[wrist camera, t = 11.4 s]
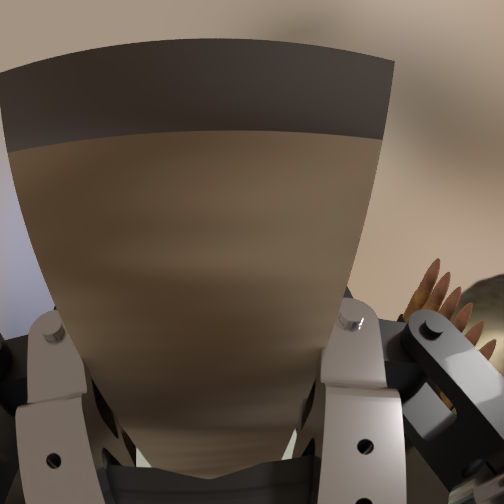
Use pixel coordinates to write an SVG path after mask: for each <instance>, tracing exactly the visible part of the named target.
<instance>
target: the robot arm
mask: <svg viewBox="0 0 504 504" xmlns="http://www.w3.org/2000/svg"><path fill="white" fill-rule="evenodd" d="M429 378H431V379H432V381H433V382H434V383H435V384H436V385H437V386H438V387H439V389H440V390H441V391H442V392H443V393H444V394H445V396H446V397H447V398H448V399H449V400H450V402H451V403H452V404H453V405H454V407H455V409H456V412H457V415H455V414H453V413H452V412H451V411H450V410H449V409H448V408H447V406H446V405H445V404H444V403H443V402H442V400H441V399H440V398H439V397H438V396H437V394H436V393H435V392H434V391H433V390H432V389H431V387H430V386H429V385H428V384H427V383H426V382H427V380H428V379H429ZM404 433H405V434H406V436H407V437H408V438H409V440H410V441H411V442H412V444H413V445H414V446H415V448H416V449H417V450H418V451H419V453H420V454H421V455H422V457H423V458H424V459H425V461H426V462H427V463H428V465H429V466H430V467H431V469H432V470H433V471H434V472H435V474H436V475H437V476H438V478H439V479H440V480H441V482H442V483H443V484H444V486H445V487H446V488H447V490H448V491H449V492H450V496H449V500H448V501H447V503H446V504H504V378H503V376H502V375H501V374H500V373H499V372H498V371H497V370H496V369H495V368H494V367H493V366H492V364H491V363H490V362H489V361H488V360H487V359H486V358H485V357H484V356H483V355H482V354H481V353H480V352H479V351H478V350H477V349H476V347H475V346H474V345H473V344H472V343H471V342H470V341H469V340H468V339H467V338H466V337H465V336H464V335H463V334H462V333H461V332H460V331H459V330H458V329H457V328H456V327H455V326H454V325H453V324H452V323H451V322H450V321H449V320H448V319H447V318H446V317H444V316H443V315H441V314H440V313H438V312H435V311H433V310H428V309H421V310H417V311H415V312H414V313H413V314H412V315H411V316H410V318H409V320H408V322H407V323H404V322H396V321H389V320H383V319H379V318H378V317H377V315H376V313H375V312H374V310H373V309H372V308H371V307H370V306H368V305H367V304H365V303H364V302H361V301H359V300H356V299H353V297H352V295H351V293H350V291H349V289H348V287H346V290H345V293H344V296H343V300H342V303H341V306H340V309H339V312H338V315H337V318H336V321H335V324H334V327H333V330H332V333H331V336H330V339H329V342H328V345H327V347H322V348H321V351H320V354H319V357H318V360H317V369H316V378H315V381H314V383H313V386H312V388H311V391H310V394H309V396H308V398H304V399H303V401H302V404H301V406H300V413H299V422H298V431H297V437H296V442H295V445H294V449H293V454H292V458H291V459H285V460H278V461H271V462H263V463H260V464H257V465H254V466H252V467H249V468H246V469H243V470H240V471H237V472H234V473H231V474H227V475H224V476H221V477H218V478H214V479H203V478H198V477H193V476H188V475H184V474H179V473H175V472H171V471H166V470H163V469H159V468H153V467H135V465H134V463H133V461H132V458H131V456H130V454H129V452H128V450H127V448H126V446H125V443H124V440H123V437H122V433H121V430H120V426H119V422H118V418H117V416H116V414H115V412H114V411H113V409H112V408H110V407H109V406H108V404H107V403H106V401H105V399H104V398H103V396H102V394H101V393H100V391H99V389H98V388H97V386H96V384H95V383H94V381H93V379H92V377H91V374H90V370H89V368H88V367H87V365H86V363H85V361H84V359H83V357H80V356H79V354H78V352H77V350H76V348H75V346H74V344H73V342H72V340H71V338H70V336H69V334H68V332H67V330H66V328H65V326H64V323H63V321H62V319H61V317H60V315H59V313H58V310H57V308H56V306H55V307H54V310H52V311H49V312H47V313H45V314H43V315H41V316H40V317H39V318H38V319H36V320H35V322H34V323H33V324H32V326H31V328H30V330H29V334H28V335H24V336H21V337H17V338H12V339H8V340H4V338H3V337H2V335H1V333H0V504H4V502H5V500H6V497H7V495H8V492H9V490H10V487H11V485H12V482H13V480H14V477H15V475H16V473H17V470H18V468H19V466H20V473H21V479H22V486H23V491H24V497H25V502H26V504H406V464H405V444H404Z"/></svg>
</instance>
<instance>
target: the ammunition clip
mask: <svg viewBox="0 0 504 504" xmlns="http://www.w3.org/2000/svg"><path fill="white" fill-rule="evenodd" d="M439 269H440V259H439V258H438V259H436V260H435V261H434V262H433V263H432V265H431V266H430V267H429V269H428V270H427V272H426V274H425V276H424V278H423V280H422V282H421V283H420V285H419V287H418V289H417V290H416V292H415V293H414V294H413V296H412V298H411V300H410V302H409V304H408V307H407V309H406V311H405V313H404V315H403V314H401V315H400V316H399V318H398V320H397V321H396V322H404V323H407V322H408V320H409V318H410V316H411V315H412V314H413V313H414V312H415V311H417V310H421V309H428V310H433V311H435V312H438V311H439V312H438V313H440V314H441V315H443V316H444V317H446V318H447V319H448V320H449V321H450V320H451V318H452V316H453V314H454V312H455V310H456V308H457V305H458V303H459V300H460V296H461V287H458V288H456V289H455V290H454V291H453V292H452V293H451V294H450V295H449V297H448V298H447V299H446V301H445V302H444V304H443V305H442V307H441V309H440V306H441V304H442V301H443V300H444V298H445V295H446V292H447V290H448V287H449V283H450V272H447V273H446V274H445V275H444V276H443V277H442V278H441V279H440V281H439V282H438V283H437V285H436V286H435V288H434V290H433V287H434V285H435V282H436V280H437V277H438V273H439ZM432 290H433V291H432ZM431 292H432V293H431ZM439 309H440V310H439ZM471 312H472V303H469V304H467V305H466V306H465V307H464V308H463V309H462V310H461V311H460V312H459V313H458V314H457V316H456V317H455V318H454V320H453V321H452V324H453V325H454V326H455V327H456V328H457V329H458V330H459V331H460V332H461V333H462V332H463V330H464V328H465V327H466V325H467V323H468V320H469V318H470V315H471ZM402 316H403V317H402ZM483 327H484V320H482V321H480V322H478V323H477V324H476V325H474V326H473V327H472V328H471V329H470V330H469V331H468V333H467V334H466V335H465V337H466V338H467V339H468V340H469V341H470V342H471V343H472V344H473V345H474V346H475V345H476V344H477V342H478V340H479V338H480V336H481V334H482V331H483ZM495 346H496V339H493V340H491V341H490V342H488V343H487V344H486V345H484V346H483V347H482V348H481V349H480V350H479V352H480V353H481V354H482V355H483V356H484V357H485V358H486V359H487V360H489V359H490V357H491V355H492V353H493V351H494V349H495ZM426 383H427V384H428V385H429V386H430V387H431V389H432V390H433V391H434V392H435V393H436V394H437V396H438V397H439V398H440V399H441V400H442V402H443V403H444V404H445V405H446V406H447V408H448V409H449V410H450V411H451V410H452V409H453V408H454V405H453V404H452V403H451V402H450V400H449V399H448V398H447V397H446V396H445V394H444V393H443V392H442V391H441V390H440V389H439V387H438V386H437V385H436V384H435V383H434V382H433V381H432V379H431V378H429V379H428V380H427V382H426Z"/></svg>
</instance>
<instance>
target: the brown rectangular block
mask: <svg viewBox="0 0 504 504" xmlns="http://www.w3.org/2000/svg"><path fill="white" fill-rule="evenodd" d="M394 63H395V61H391V60H387V59H383V58H379V57H375V56H370V55H366V54H361V53H356V52H351V51H346V50H340V49H334V48H328V47H321V46H314V45H307V44H299V43H290V42H280V41H268V40H252V39H178V40H177V39H176V40H162V41H150V42H140V43H131V44H123V45H115V46H108V47H102V48H96V49H90V50H85V51H80V52H75V53H70V54H66V55H61V56H57V57H53V58H49V59H45V60H41V61H37V62H34V63H30V64H27V65H24V66H20V67H17V68H13V69H10V70H8V71H5V72H1V73H0V108H1V116H2V123H3V129H4V135H5V142H6V147H7V153H8V157H9V163H10V167H11V172H12V176H13V181H14V185H15V189H16V193H17V197H18V201H19V204H20V208H21V211H22V215H23V218H24V222H25V225H26V228H27V231H28V235H29V238H30V241H31V244H32V247H33V250H34V252H35V255H36V258H37V261H38V263H39V266H40V269H41V272H42V274H43V277H44V279H45V282H46V284H47V287H48V289H49V292H50V294H51V296H52V299H53V301H54V303H55V306H56V308H57V310H58V313H59V315H60V317H61V319H62V321H63V323H64V326H65V328H66V330H67V332H68V334H69V336H70V338H71V340H72V342H73V344H74V346H75V348H76V350H77V352H78V354H79V356H80V357H83V359H84V361H85V363H86V365H87V367H88V368H89V370H90V374H91V377H92V379H93V381H94V383H95V384H96V386H97V388H98V389H99V391H100V393H101V394H102V396H103V398H104V399H105V401H106V403H107V404H108V406H109V407H110V408H112V409H113V411H114V412H115V414H116V416H117V418H118V421H119V423H120V424H121V426H122V427H123V429H124V430H125V432H126V433H127V434H128V436H129V437H130V439H131V440H132V442H133V443H134V444H135V446H136V447H137V448H138V450H139V451H140V452H141V454H142V455H143V457H144V458H145V459H146V460H147V462H148V463H149V464H150V466H151V467H153V468H159V469H163V470H166V471H171V472H175V473H179V474H184V475H188V476H193V477H198V478H203V479H214V478H218V477H221V476H224V475H227V474H231V473H234V472H237V471H240V470H243V469H246V468H249V467H252V466H254V465H257V464H260V463H263V462H271V461H278V460H282V457H283V455H284V453H285V451H286V448H287V446H288V444H289V442H290V439H291V437H292V435H293V432H294V430H295V428H296V425H297V423H298V421H299V413H300V406H301V404H302V401H303V399H304V398H308V396H309V394H310V391H311V388H312V386H313V383H314V381H315V378H316V369H317V360H318V357H319V354H320V351H321V348H322V347H327V345H328V342H329V339H330V336H331V333H332V330H333V327H334V324H335V321H336V318H337V315H338V312H339V309H340V306H341V303H342V300H343V296H344V293H345V290H346V287H347V283H348V280H349V276H350V273H351V270H352V266H353V262H354V259H355V255H356V252H357V248H358V244H359V241H360V237H361V233H362V229H363V225H364V221H365V218H366V213H367V209H368V205H369V201H370V197H371V192H372V188H373V184H374V179H375V174H376V170H377V165H378V160H379V154H380V150H381V145H382V140H383V134H384V129H385V123H386V117H387V111H388V105H389V99H390V92H391V85H392V78H393V71H394Z"/></svg>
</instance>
